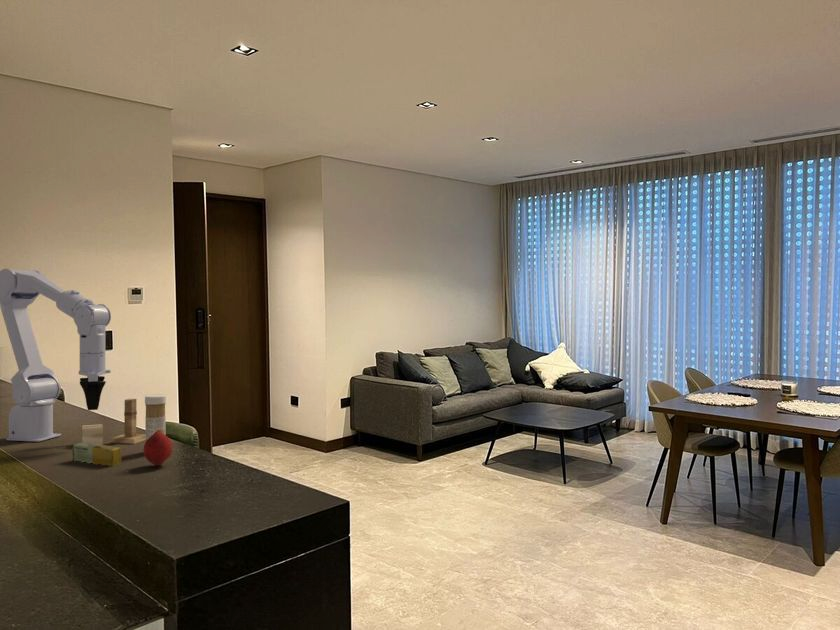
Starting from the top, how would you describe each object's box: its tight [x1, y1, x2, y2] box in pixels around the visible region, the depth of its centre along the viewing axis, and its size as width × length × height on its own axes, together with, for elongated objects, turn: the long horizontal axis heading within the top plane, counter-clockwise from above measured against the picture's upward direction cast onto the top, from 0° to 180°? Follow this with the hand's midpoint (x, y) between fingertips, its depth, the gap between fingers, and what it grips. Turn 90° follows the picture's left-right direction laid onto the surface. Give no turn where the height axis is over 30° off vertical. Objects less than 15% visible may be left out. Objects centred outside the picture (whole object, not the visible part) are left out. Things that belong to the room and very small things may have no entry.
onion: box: [143, 429, 174, 467], centre depth 135 cm, size 6×6×8 cm
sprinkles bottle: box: [144, 393, 167, 442], centre depth 148 cm, size 5×5×14 cm
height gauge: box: [111, 398, 146, 445], centre depth 160 cm, size 6×6×11 cm
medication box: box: [72, 441, 122, 467], centre depth 138 cm, size 12×3×4 cm, turn 68°
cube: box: [81, 423, 104, 445], centre depth 156 cm, size 4×4×4 cm
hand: (92, 407), depth 156 cm, fingers open, 7 cm apart
